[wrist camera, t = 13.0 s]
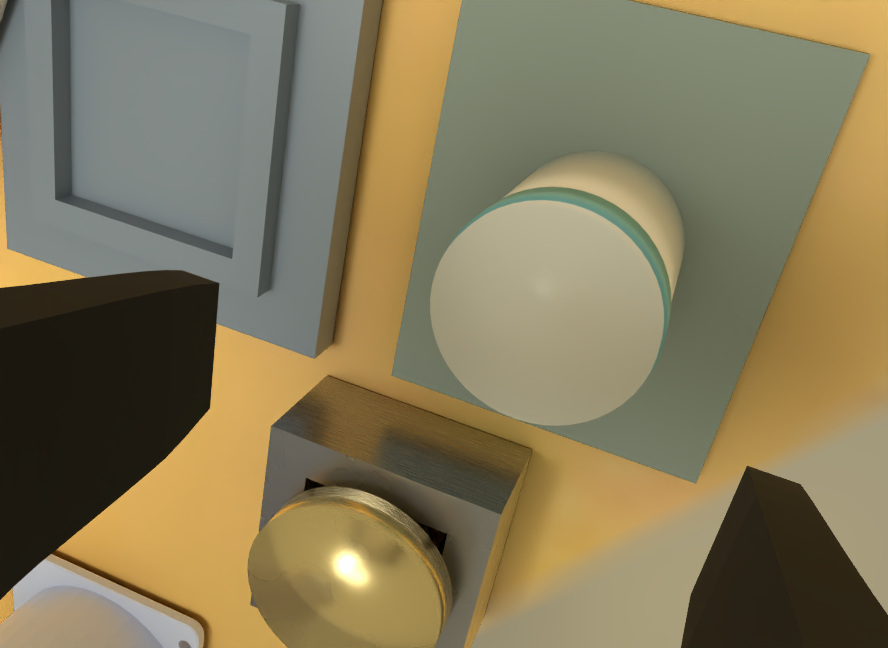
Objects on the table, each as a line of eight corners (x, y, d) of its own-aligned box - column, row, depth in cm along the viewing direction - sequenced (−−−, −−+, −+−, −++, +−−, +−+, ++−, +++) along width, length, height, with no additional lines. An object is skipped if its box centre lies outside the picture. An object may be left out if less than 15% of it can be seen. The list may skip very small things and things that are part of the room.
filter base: (331, 344, 22) (303, 367, 21) (34, 239, 24) (-10, 254, 23) (390, -54, 18) (359, -58, 16) (21, -137, 20) (-34, -146, 19)
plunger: (467, 606, 23) (417, 714, 20) (313, 541, 24) (239, 633, 21) (506, 465, 21) (457, 560, 18) (334, 402, 22) (257, 479, 19)
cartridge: (654, 349, 19) (623, 460, 14) (486, 295, 19) (409, 384, 15) (714, 177, 17) (699, 243, 12) (526, 127, 18) (451, 171, 13)
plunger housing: (483, 616, 24) (450, 694, 21) (302, 540, 25) (250, 604, 23) (532, 449, 21) (501, 514, 19) (327, 375, 23) (271, 425, 20)
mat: (697, 472, 20) (695, 483, 19) (398, 367, 22) (391, 375, 21) (867, 53, 16) (870, 55, 15) (475, -36, 17) (468, -36, 17)
